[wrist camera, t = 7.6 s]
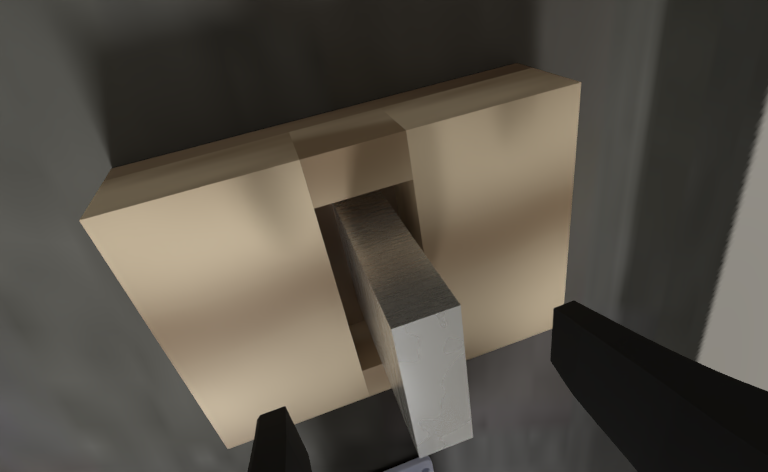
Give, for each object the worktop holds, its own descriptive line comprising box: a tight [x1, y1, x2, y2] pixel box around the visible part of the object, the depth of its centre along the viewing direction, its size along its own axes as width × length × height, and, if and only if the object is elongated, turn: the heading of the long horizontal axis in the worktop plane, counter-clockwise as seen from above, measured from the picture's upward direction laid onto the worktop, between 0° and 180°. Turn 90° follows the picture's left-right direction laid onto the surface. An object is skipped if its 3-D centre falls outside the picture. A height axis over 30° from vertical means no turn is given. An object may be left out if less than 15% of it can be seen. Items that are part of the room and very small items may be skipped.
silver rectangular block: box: [332, 190, 473, 458], centre depth 14 cm, size 5×2×7 cm, turn 9°
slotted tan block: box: [79, 63, 581, 449], centre depth 16 cm, size 10×14×4 cm
